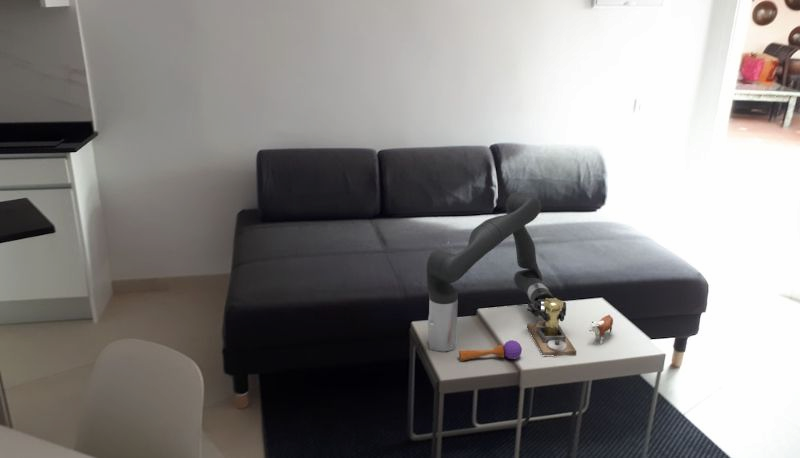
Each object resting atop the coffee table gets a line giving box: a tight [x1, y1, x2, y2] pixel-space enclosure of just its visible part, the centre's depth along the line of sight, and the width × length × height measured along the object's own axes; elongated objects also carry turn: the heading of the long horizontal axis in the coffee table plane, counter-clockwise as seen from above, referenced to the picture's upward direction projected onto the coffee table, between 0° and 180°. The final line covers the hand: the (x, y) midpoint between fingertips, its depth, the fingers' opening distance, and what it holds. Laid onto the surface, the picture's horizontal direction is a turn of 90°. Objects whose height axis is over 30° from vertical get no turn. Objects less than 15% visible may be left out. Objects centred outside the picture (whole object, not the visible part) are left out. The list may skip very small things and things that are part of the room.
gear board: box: [526, 320, 577, 357], centre depth 213 cm, size 11×20×4 cm, turn 4°
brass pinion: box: [543, 297, 564, 336], centre depth 211 cm, size 6×6×12 cm
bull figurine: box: [588, 314, 614, 345], centre depth 213 cm, size 4×13×8 cm, turn 135°
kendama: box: [458, 340, 523, 362], centre depth 202 cm, size 6×6×20 cm
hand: (555, 319), depth 208 cm, fingers closed on brass pinion, 4 cm apart
